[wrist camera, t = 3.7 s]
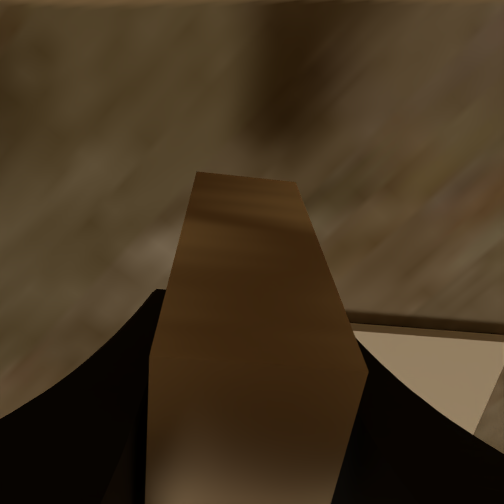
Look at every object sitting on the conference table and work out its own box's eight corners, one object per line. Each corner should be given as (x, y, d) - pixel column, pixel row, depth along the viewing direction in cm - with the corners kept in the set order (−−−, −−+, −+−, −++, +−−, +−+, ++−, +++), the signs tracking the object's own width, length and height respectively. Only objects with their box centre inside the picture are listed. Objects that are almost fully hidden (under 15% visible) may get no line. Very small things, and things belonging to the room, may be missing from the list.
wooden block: (183, 356, 15) (140, 637, 8) (196, 171, 12) (149, 355, 5) (268, 362, 15) (296, 641, 8) (299, 182, 12) (376, 371, 6)
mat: (189, 492, 26) (188, 502, 25) (204, 311, 21) (204, 319, 20) (433, 504, 27) (437, 514, 26) (506, 335, 22) (513, 343, 21)
